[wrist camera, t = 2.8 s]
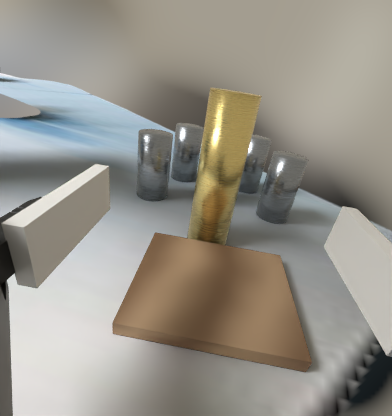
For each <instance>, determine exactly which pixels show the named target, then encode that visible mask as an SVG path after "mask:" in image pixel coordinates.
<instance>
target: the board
mask: <svg viewBox="0 0 392 416" xmlns="http://www.w3.org/2000/svg"><path fill="white" fill-rule="evenodd" d="M113 334H118V335H123V336H128V337H133V338H138V339H143V340H148V341H153V342H158V343H163V344H168V345H173V346H178V347H183V348H188V349H193V350H198V351H203V352H208V353H213V354H218V355H223V356H228V357H233V358H238V359H243V360H248V361H253V362H258V363H263V364H268V365H273V366H278V367H283V368H288V369H293V370H298V371H303V372H306V371H307V370H308V368H309V367H310V365H311V363H312V361H311V357H310V354H309V351H308V347H307V344H306V341H305V337H304V334H303V331H302V327H301V324H300V321H299V317H298V314H297V310H296V307H295V304H294V300H293V297H292V294H291V290H290V287H289V284H288V280H287V277H286V274H285V270H284V267H283V264H282V260H281V257H280V255H275V254H269V253H264V252H258V251H253V250H248V249H242V248H237V247H231V246H226V245H220V244H215V243H210V242H204V241H199V240H193V239H188V238H182V237H177V236H172V235H166V234H161V233H155V234H154V236H153V238H152V241H151V243H150V245H149V247H148V249H147V251H146V253H145V255H144V257H143V260H142V262H141V264H140V266H139V268H138V270H137V272H136V274H135V277H134V279H133V281H132V283H131V285H130V287H129V289H128V291H127V293H126V296H125V298H124V300H123V302H122V304H121V306H120V308H119V310H118V312H117V315H116V317H115V319H114V321H113Z"/></svg>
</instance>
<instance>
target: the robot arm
mask: <svg viewBox="0 0 392 416" xmlns="http://www.w3.org/2000/svg"><path fill="white" fill-rule="evenodd" d="M109 210H110V183H109V166H105V165H99V164H95V165H93V166H92V167H90V168H89V169H87V170H85V171H84V172H82V173H81V174H79V175H77V176H76V177H74V178H73V179H71V180H69V181H68V182H66V183H65V184H63V185H62V186H60V187H58V188H57V189H55V190H54V191H52V192H50V193H49V194H47V195H46V196H44V197H39V198H36V199H33V200H29V201H27V202H26V203H24V204H22V205H21V206H19V208H16V209H14V210H12V212H9V213H7V214H6V215H4V216H2V217H1V218H0V416H13V410H12V380H11V350H10V320H9V290H8V284H7V279H8V278H9V277H11V276H12V275H13V274H14V273H15V276H16V280H17V284H18V285H22V286H28V287H33V288H38V287H39V286H40V285H41V284H42V282H43V281H44V280H45V279H46V278H47V277H48V276H49V275H50V274H51V273H52V272H53V271H54V269H55V268H56V267H57V266H58V265H59V264H60V263H61V262H62V261H63V260H64V259H65V257H66V256H67V255H68V254H69V253H70V252H71V251H72V250H73V249H74V248H75V247H76V245H77V244H78V243H79V242H80V241H81V240H82V239H83V238H84V237H85V236H86V235H87V233H88V232H89V231H90V230H91V229H92V228H93V227H94V226H95V225H96V224H97V223H98V222H99V220H100V219H101V218H102V217H103V216H104V215H105V214H106V213H107V212H108V211H109ZM324 248H325V250H326V252H327V254H328V255H329V257H330V259H331V260H332V262H333V264H334V266H335V267H336V269H337V271H338V272H339V274H340V276H341V278H342V279H343V281H344V283H345V285H346V286H347V288H348V290H349V291H350V293H351V295H352V297H353V298H354V300H355V302H356V303H357V305H358V307H359V309H360V310H361V312H362V314H363V316H364V317H365V319H366V321H367V322H368V324H369V326H370V328H371V329H372V331H373V333H374V334H375V336H376V338H377V340H378V341H379V343H380V345H381V347H382V348H383V350H384V352H385V353H386V355H387V356H391V357H392V243H391V242H390V241H389V240H388V239H387V238H386V237H385V236H384V235H383V234H382V233H381V232H380V231H379V230H378V229H377V228H376V227H375V226H374V225H373V224H372V223H371V222H370V221H369V220H368V219H367V218H365V217H364V215H363V214H361V213H360V212H359V211H358V210H357V209H355V208H349V207H342V209H341V211H340V213H339V215H338V217H337V220H336V222H335V224H334V226H333V228H332V230H331V232H330V234H329V237H328V239H327V241H326V243H325V245H324Z"/></svg>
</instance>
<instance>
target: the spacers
mask: <svg viewBox="0 0 392 416" xmlns="http://www.w3.org/2000/svg"><path fill="white" fill-rule="evenodd" d="M202 134H203V127H201V126H198V125H194V124H188V123H178V124H177V125H176V133H175V143H174V153H173V163H172V173H171V177H172V178H173V179H175V180H178V181H182V182H192V181H195V180H196V174H197V168H198V161H199V154H200V148H201V140H202ZM172 139H173V134H171V133H169V132H166V131H162V130H155V129H143V130H139V139H138V170H137V195H138V196H139V197H140V198H142V199H144V200H149V201H159V200H163V199H165V198H166V197H167V192H168V181H169V171H170V160H171V150H172ZM270 144H271V139H269V138H267V137H263V136H259V135H253V134H252V137H251V141H250V146H249V150H248V154H247V158H246V162H245V166H244V170H243V174H242V178H241V182H240V186H239V190H238V191H241V192H244V193H256V192H257V190H258V186H259V183H260V179H261V176H262V172H263V169H264V165H265V162H266V158H267V155H268V151H269V147H270ZM307 163H308V159H307V158H306V157H304V156H301V155H298V154H295V153H291V152H286V151H285V152H284V151H275V152H273V155H272V159H271V162H270V166H269V169H268V172H267V176H266V179H265V183H264V186H263V189H262V193H261V196H260V200H259V203H258V206H257V210H256V214H257V215H258V216H259V217H260V218H262V219H263V220H266V221H268V222H271V223H284V222H286V220H287V218H288V215H289V212H290V210H291V207H292V204H293V201H294V199H295V196H296V193H297V191H298V188H299V185H300V182H301V179H302V177H303V174H304V171H305V169H306V166H307Z"/></svg>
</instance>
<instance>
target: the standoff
mask: <svg viewBox="0 0 392 416" xmlns="http://www.w3.org/2000/svg"><path fill="white" fill-rule="evenodd" d="M260 100H261V96H259V95H255V94H249V93H245V92H239V91H232V90H226V89H219V88H210V94H209V100H208V107H207V113H206V120H205V126H204V133H203V139H202V146H201V152H200V159H199V165H198V172H197V178H196V185H195V191H194V198H193V204H192V211H191V217H190V224H189V231H188V239H193V240H199V241H204V242H210V243H215V244H220V245H225V243H226V239H227V235H228V231H229V227H230V223H231V219H232V215H233V211H234V207H235V203H236V199H237V195H238V190H239V186H240V182H241V178H242V174H243V170H244V166H245V162H246V158H247V154H248V150H249V146H250V141H251V137H252V133H253V129H254V125H255V121H256V117H257V113H258V109H259V105H260Z"/></svg>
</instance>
